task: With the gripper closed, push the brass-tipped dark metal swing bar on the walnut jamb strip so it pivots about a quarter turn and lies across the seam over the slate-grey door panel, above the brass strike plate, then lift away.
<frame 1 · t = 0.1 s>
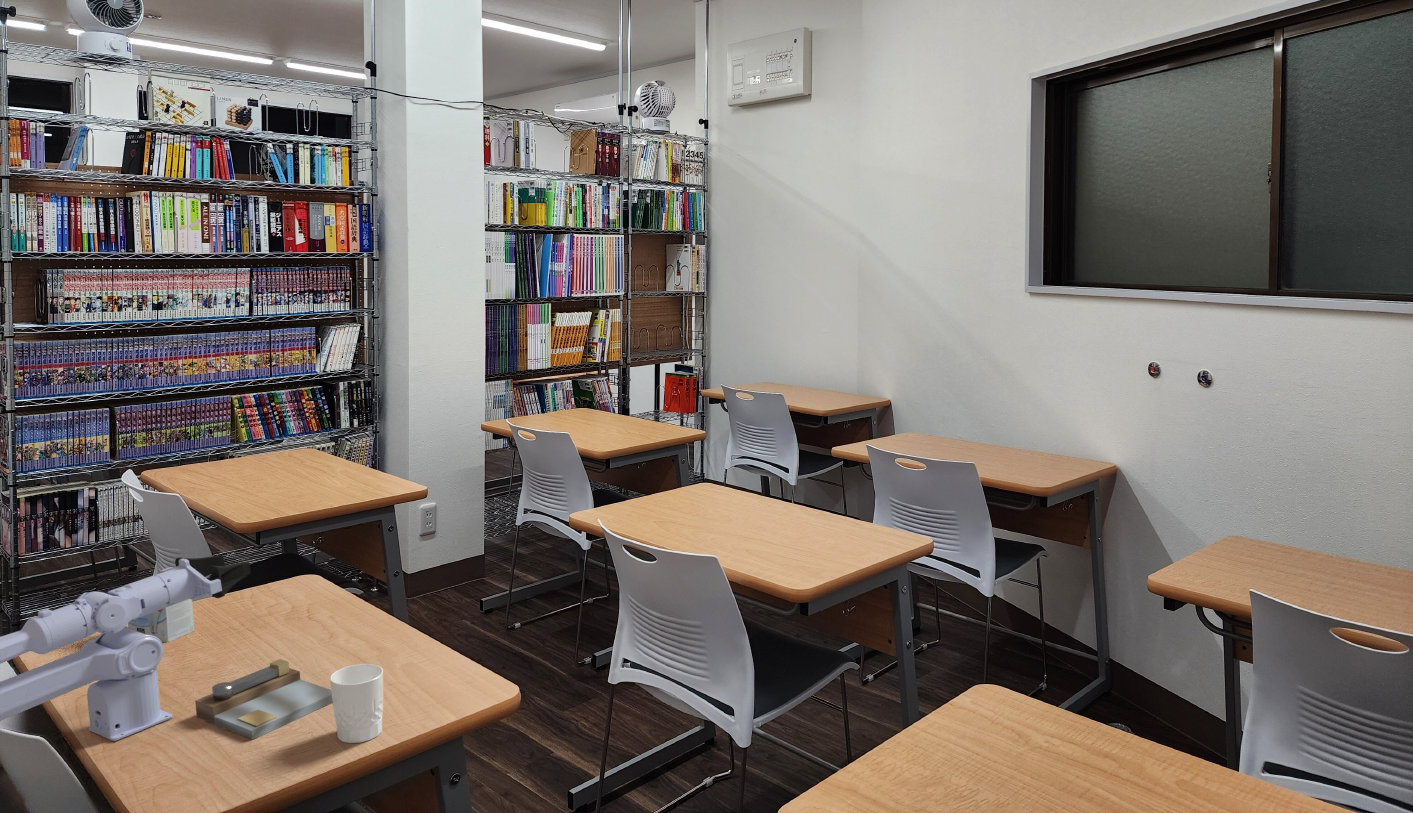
hand: (235, 564, 166), 22 cm above the table, tool horizontal, fingers open, 7 cm apart
door board: (270, 709, 157), on the table
latch bar: (250, 679, 159), point 4 cm above the table, hinge at 0.0°
white cup: (360, 734, 148), on the table
light bulb box: (162, 634, 190), on the table
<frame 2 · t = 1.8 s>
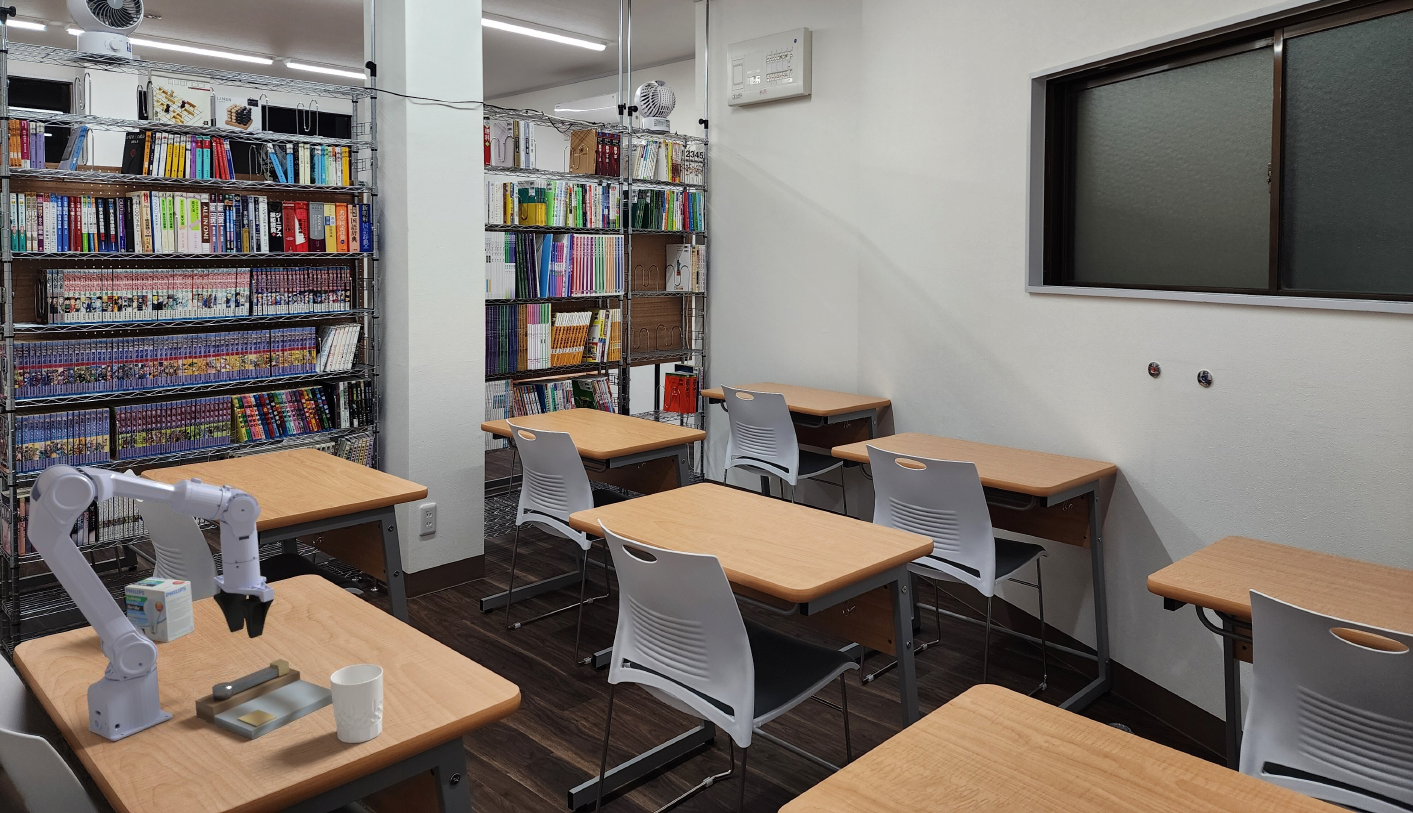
hand: (246, 633, 163), 10 cm above the table, tool pointing down, fingers open, 5 cm apart
nothing on the table moved.
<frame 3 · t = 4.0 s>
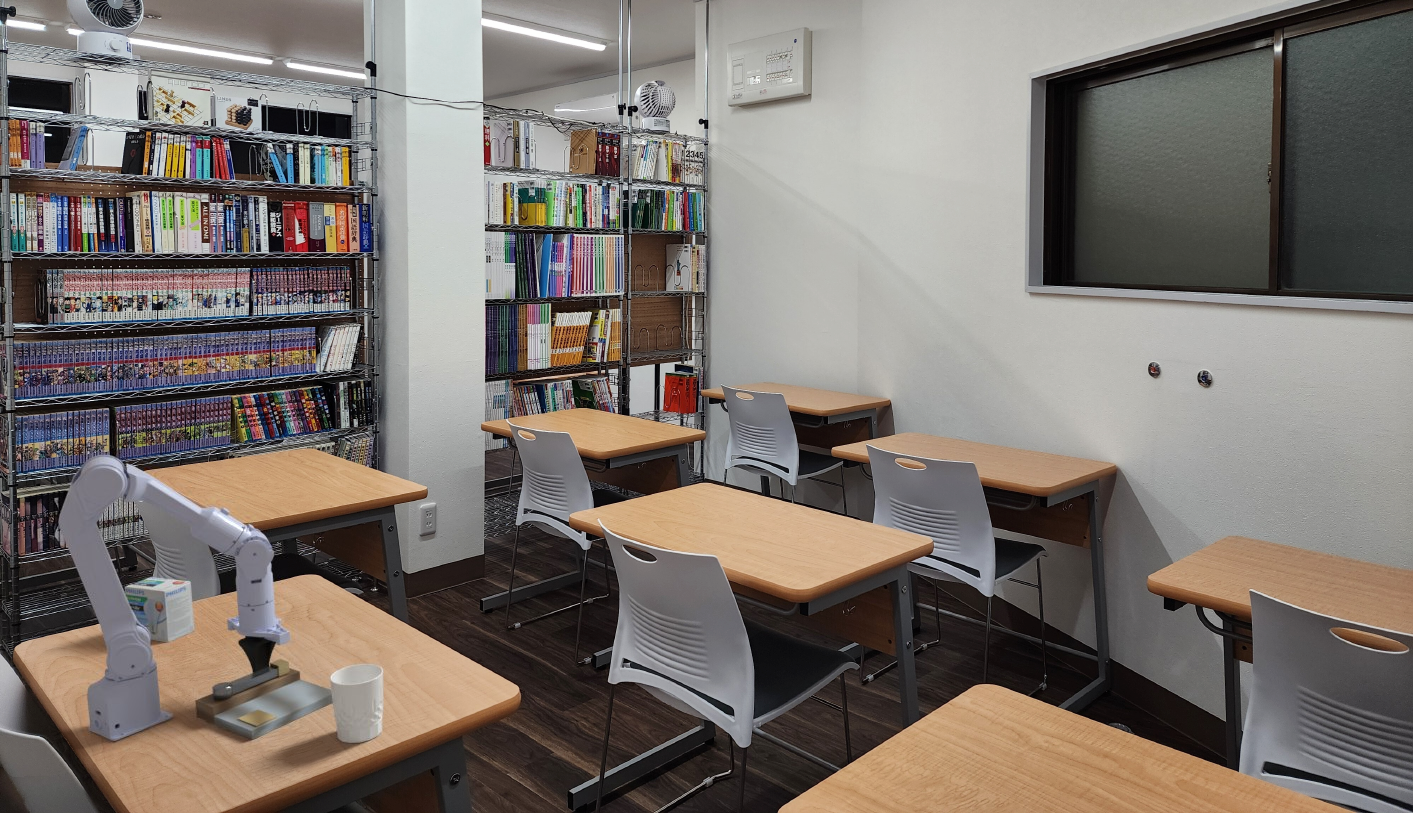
hand: (261, 675, 162), 3 cm above the table, tool pointing down, fingers closed, pressing on latch bar
latch bar: (250, 679, 159), point 4 cm above the table, hinge at 0.2°, touching gripper
everything else where it was.
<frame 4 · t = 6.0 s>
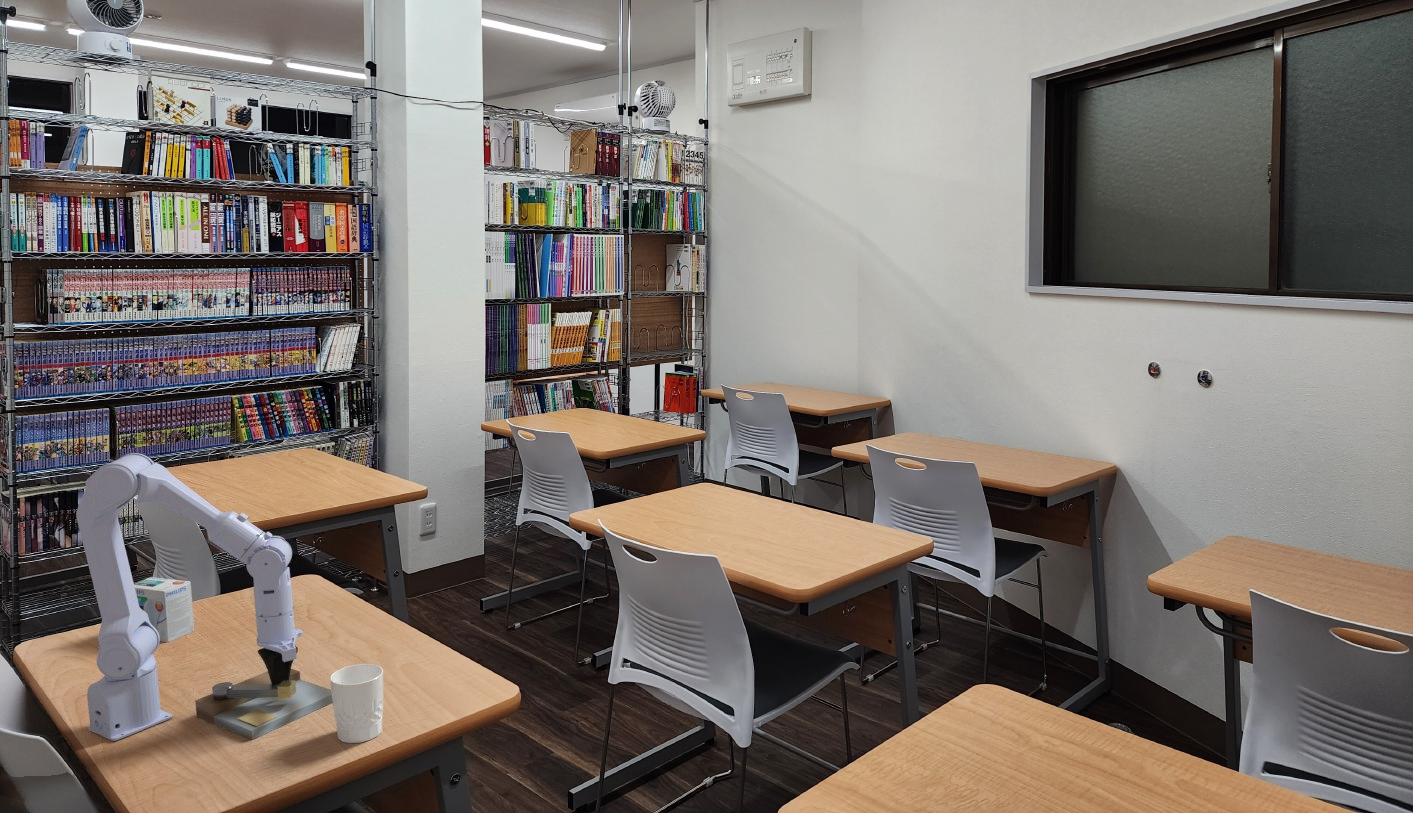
hand: (280, 688, 157), 3 cm above the table, tool pointing down, fingers closed, pressing on latch bar
latch bar: (253, 689, 155), point 4 cm above the table, hinge at 57.5°, touching gripper
everything else where it was.
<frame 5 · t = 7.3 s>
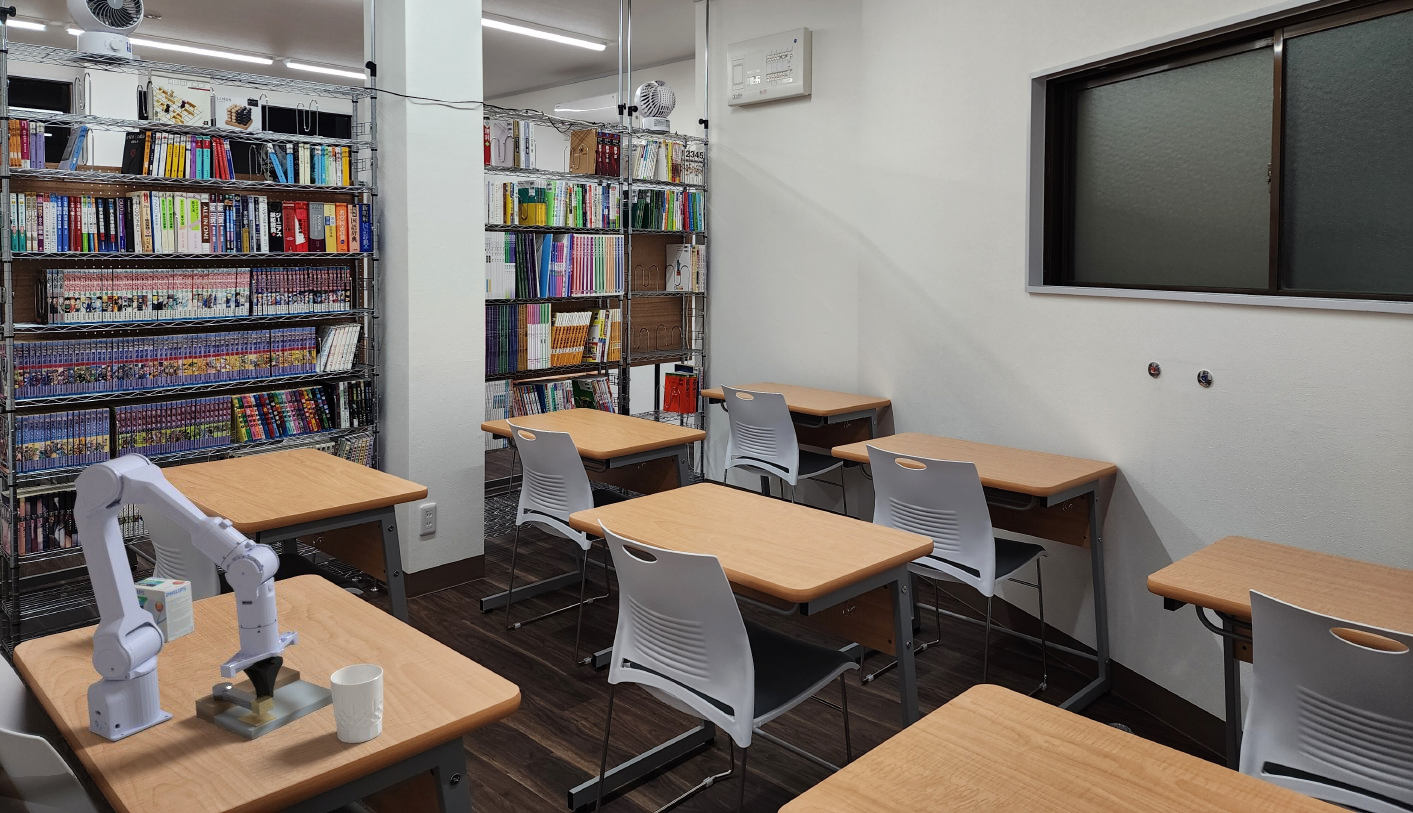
hand: (265, 701, 151), 4 cm above the table, tool pointing down, fingers closed, pressing on latch bar
latch bar: (241, 697, 152), point 4 cm above the table, hinge at 89.7°, touching gripper
everything else where it was.
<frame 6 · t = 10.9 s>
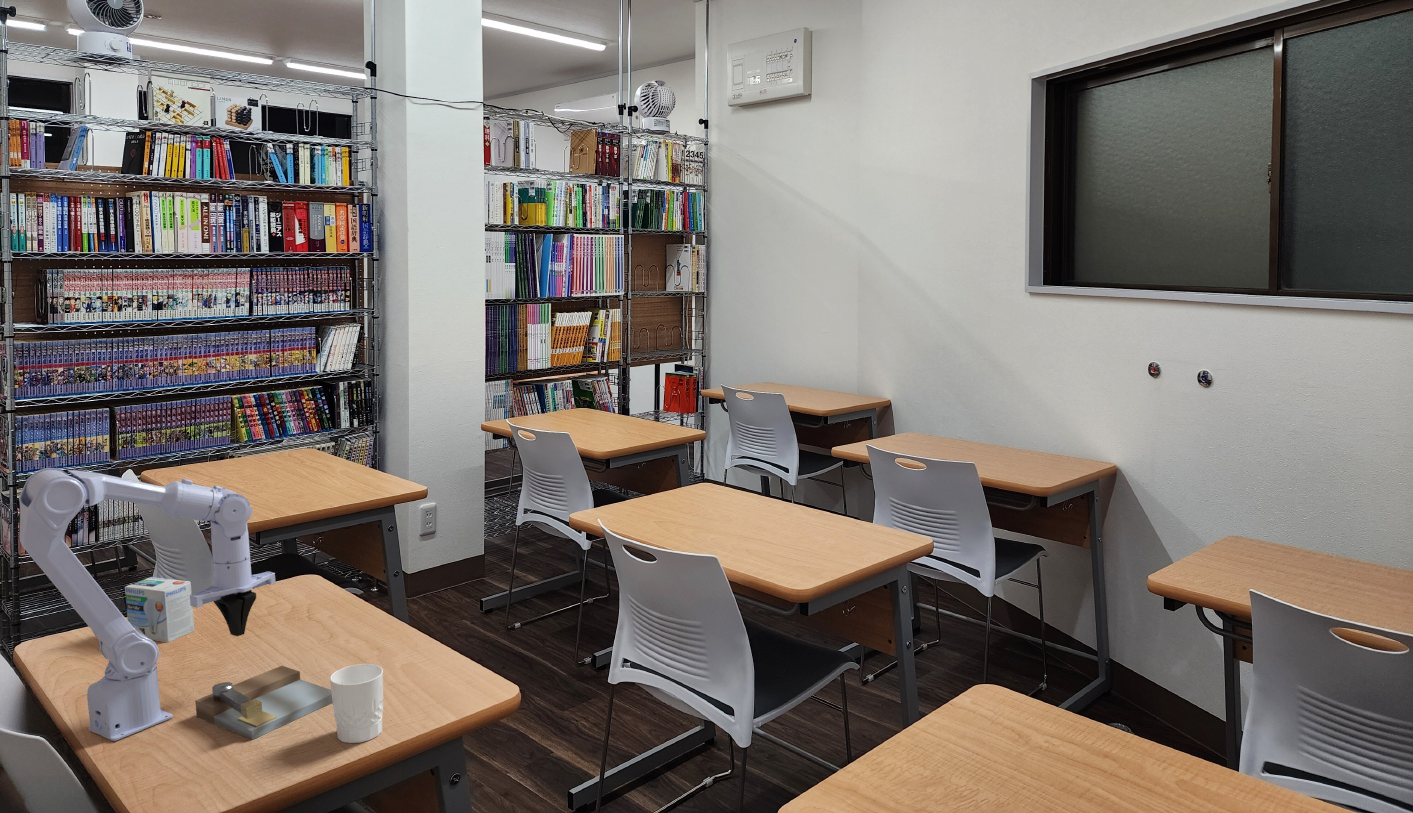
hand: (237, 634, 163), 10 cm above the table, tool pointing down, fingers closed
latch bar: (236, 699, 151), point 4 cm above the table, hinge at 99.4°
everything else where it was.
at the end: latch bar at +99° (first picture: +0°); white cup moved 0.2 cm from its start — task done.
